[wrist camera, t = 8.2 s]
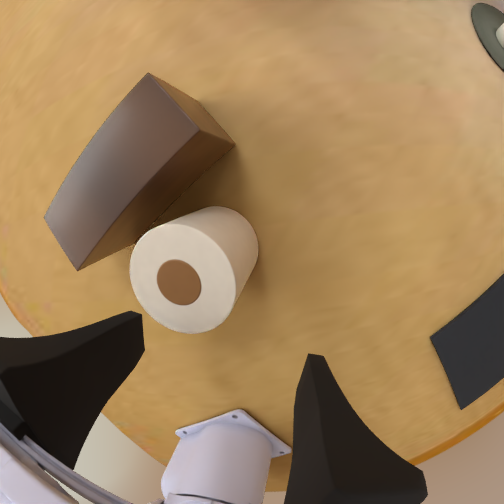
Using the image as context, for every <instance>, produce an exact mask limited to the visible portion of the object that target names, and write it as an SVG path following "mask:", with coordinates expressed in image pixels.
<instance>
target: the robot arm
mask: <svg viewBox="0 0 504 504" xmlns="http://www.w3.org/2000/svg"><path fill="white" fill-rule="evenodd" d="M144 351H145V348H144V337H143V323H142V314H139V313H136V312H133V311H128V312H125V313H122V314H119V315H116V316H113V317H110V318H108V319H105V320H102V321H99V322H97V323H94V324H91V325H88V326H85V327H82V328H78V329H75V330H72V331H68V332H64V333H59V334H55V335H49V336H41V337H32V338H5V337H0V504H79V502H78V501H77V500H75V499H74V498H73V497H72V496H71V495H69V494H68V493H67V492H66V491H65V490H64V489H63V488H62V487H61V486H60V485H59V484H58V482H57V481H55V480H54V479H53V478H51V476H49V475H48V474H47V473H46V472H45V471H44V470H46V471H47V472H48V473H49V474H50V475H52V476H53V477H54V478H56V479H57V480H59V481H60V482H61V483H63V484H64V485H66V486H67V487H69V488H70V489H72V490H73V491H75V492H76V493H78V494H79V495H81V496H82V497H84V498H86V499H88V500H89V501H91V502H93V503H94V504H132V503H130V502H128V501H126V500H124V499H122V498H120V497H118V496H116V495H114V494H112V493H110V492H108V491H106V490H104V489H103V488H101V487H99V486H97V485H95V484H94V483H92V482H90V481H89V480H87V479H85V478H84V477H82V476H80V475H79V474H77V473H76V472H74V471H73V470H74V467H75V464H76V461H77V458H78V456H79V454H80V451H81V449H82V447H83V444H84V442H85V440H86V438H87V436H88V434H89V431H90V430H91V428H92V426H93V424H94V422H95V421H96V419H97V417H98V416H99V414H100V412H101V411H102V409H103V407H104V406H105V404H106V403H107V401H108V400H109V399H110V397H111V396H112V395H113V394H114V393H115V391H116V390H117V389H118V388H119V386H120V385H121V384H122V383H123V382H124V380H125V379H126V378H127V377H128V375H129V374H130V373H131V372H132V370H133V369H134V368H135V366H136V365H137V363H138V361H139V360H140V358H141V356H142V355H143V353H144ZM175 433H176V435H178V436H179V437H180V438H181V439H180V441H179V443H178V445H177V447H176V449H175V451H174V453H173V455H172V457H171V459H170V462H169V464H168V466H167V468H166V470H165V472H164V474H163V476H162V480H161V488H162V492H163V495H164V497H165V500H164V499H157V500H155V501H153V502H150V503H148V504H262V503H263V498H264V493H265V488H266V483H267V478H268V472H269V467H270V462H271V458H275V457H278V456H282V455H285V454H289V453H291V448H290V447H289V446H288V445H286V444H285V443H284V442H282V441H281V440H280V439H278V438H277V437H276V436H274V435H273V434H272V433H271V432H269V431H268V430H267V429H266V428H264V427H263V426H262V425H261V424H259V423H258V422H257V421H256V420H254V419H253V418H252V417H251V416H250V415H248V414H247V413H246V412H245V411H244V410H241V409H236V410H234V411H231V412H228V413H226V414H223V415H220V416H217V417H214V418H211V419H209V420H206V421H203V422H199V423H196V424H193V425H190V426H187V427H183V428H180V429H177V430H176V432H175ZM427 495H428V493H427V487H426V481H425V478H424V474H423V471H421V470H420V469H418V468H417V467H415V466H414V465H412V464H410V463H409V462H407V461H406V460H404V459H403V458H401V457H400V456H399V455H397V454H396V453H395V452H393V451H392V450H391V449H390V448H389V447H387V446H386V445H385V444H384V443H383V442H382V441H381V440H380V439H379V438H378V437H377V436H376V435H375V434H374V433H373V432H372V431H371V430H370V429H369V428H368V427H367V426H366V425H365V424H364V422H363V421H362V420H361V419H360V418H359V416H358V415H357V414H356V412H355V411H354V410H353V408H352V407H351V405H350V404H349V402H348V401H347V399H346V397H345V396H344V394H343V392H342V391H341V389H340V387H339V385H338V384H337V382H336V380H335V378H334V376H333V374H332V372H331V370H330V368H329V366H328V364H327V362H326V360H325V358H324V356H321V355H315V354H308V356H307V359H306V362H305V366H304V369H303V372H302V375H301V378H300V381H299V384H298V387H297V391H296V398H295V405H294V425H293V455H292V464H291V470H290V476H289V481H288V486H287V491H286V496H285V501H284V504H420V503H422V502H423V501H424V500H425V498H426V497H427Z"/></svg>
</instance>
